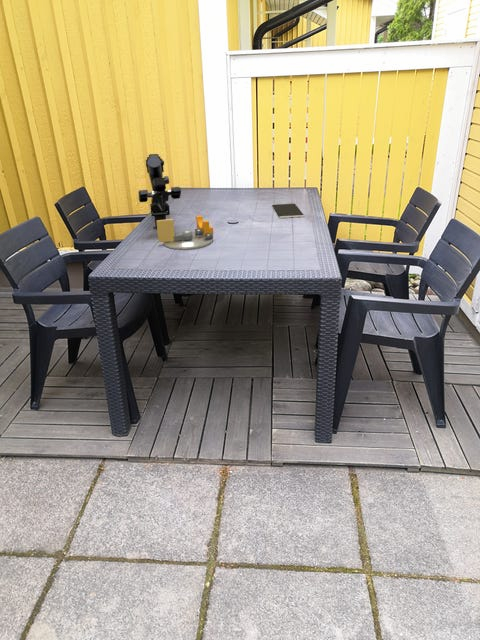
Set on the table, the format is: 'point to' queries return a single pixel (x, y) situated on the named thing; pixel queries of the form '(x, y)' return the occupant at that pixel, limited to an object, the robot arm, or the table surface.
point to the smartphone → (287, 211)
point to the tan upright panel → (170, 232)
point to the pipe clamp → (203, 225)
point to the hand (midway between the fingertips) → (163, 210)
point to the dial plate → (191, 241)
